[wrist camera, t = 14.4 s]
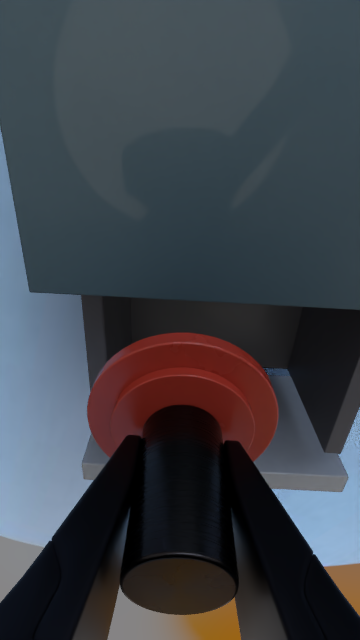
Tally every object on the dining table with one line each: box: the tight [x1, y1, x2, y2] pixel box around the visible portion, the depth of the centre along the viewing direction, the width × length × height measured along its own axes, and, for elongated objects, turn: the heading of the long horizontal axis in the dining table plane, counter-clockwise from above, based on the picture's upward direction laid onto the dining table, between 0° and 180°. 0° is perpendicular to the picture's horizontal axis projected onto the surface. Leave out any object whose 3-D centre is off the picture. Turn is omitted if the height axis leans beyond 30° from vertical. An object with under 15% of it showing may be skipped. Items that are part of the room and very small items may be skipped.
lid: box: [87, 332, 279, 615], centre depth 9 cm, size 6×6×5 cm
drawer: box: [81, 295, 360, 492], centre depth 18 cm, size 17×13×8 cm
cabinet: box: [0, 0, 360, 310], centre depth 12 cm, size 14×14×10 cm
